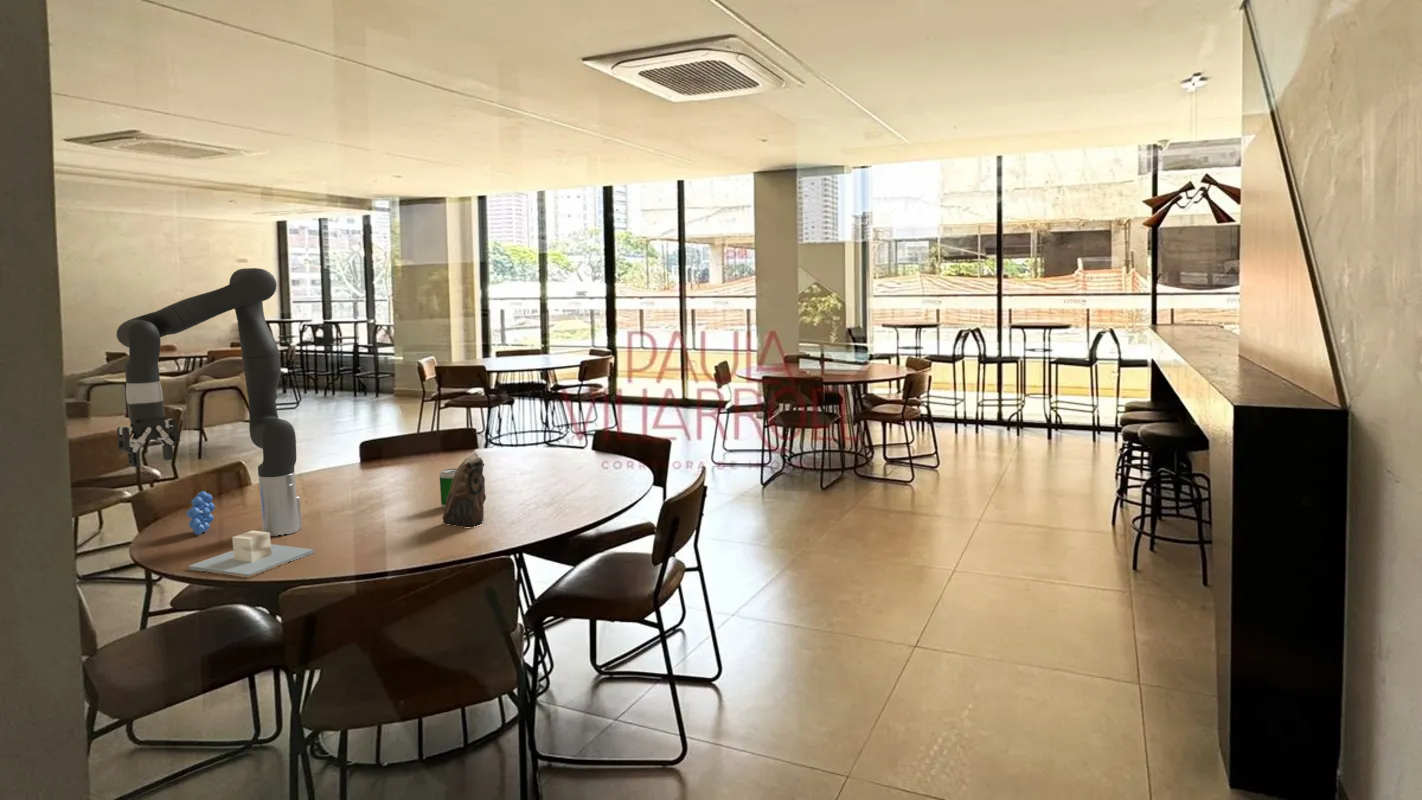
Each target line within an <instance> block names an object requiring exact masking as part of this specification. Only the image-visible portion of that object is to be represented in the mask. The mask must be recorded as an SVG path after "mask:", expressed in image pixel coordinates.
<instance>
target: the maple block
mask: <svg viewBox="0 0 1422 800" xmlns="http://www.w3.org/2000/svg"><path fill="white" fill-rule="evenodd" d="M231 537H232V548H233V550H234V560H240V561H247V562H254V561H257V560H259V559H262V558H265V557H267V556H270V555H272V552H271V544H272V543H271V536H270V533H269V532H263V531H259V530H253V529H252V530H250V531H247V532H244V533H240V534H237V535H234V536H231ZM233 550H232V551H233Z"/></svg>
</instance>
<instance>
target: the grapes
mask: <svg viewBox="0 0 1422 800" xmlns="http://www.w3.org/2000/svg"><path fill="white" fill-rule="evenodd" d="M213 499H214V498H213V496H212V494H211V493H207V491H204V490H201V491H200V492H198V493H197V495H196V496H195V497H194V498H193V499H192V500H191V501H190V503H191V505H192V507H190V508H189V509H188V510H187V511H186V513H185V515H186V517H187V518H188V519H189V520H190V521H189V522H188V526H189V527H190V528H191V529H192V532H193V533H194V534H195V535H197V536H200V535H201V534H203V533H202V532H204V533H206V532H208V530H210V528H211V526H210V524H211V523H213V521H214V520H215V517H214V515H213V514H212V512H214V510H215V509H216V505H215V504H214V503H213V502H212V501H213ZM205 531H206V532H205Z"/></svg>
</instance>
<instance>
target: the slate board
mask: <svg viewBox="0 0 1422 800" xmlns="http://www.w3.org/2000/svg"><path fill="white" fill-rule="evenodd" d="M271 552H272V555H270V556H267V557H265V558H262V559H259V560H257V561H254V562H247V561H240V560H234V550H230V551H227V552H224V553H221V554H219V555H216V556H213V557H210V558H207V559H204V560H202V561H199V562H196V563H193V564H190V565H188V570H190V571H195V570H196V572H202V571H210V572H218V573H226V574H236V575H245V576H250V575H252V574H256V573H260V572H263V571H265V570H267V569H270V568H272V567H275V566H277V565H280V564H283V563H285V562H288V561H292V562H294V561H293V560H295V561H297V560H300V559H302V557H303V558H304V557H308V556H310V555H313V554H314V553H315V552H314V549H313V548H312V549H311V548H305V547H304V548H303V547H299V546H298V547H296V546H290V545H289V546H288V545H282V544H281V545H280V544H275V543H274V544H273V543H271ZM312 553H313V554H312ZM309 554H310V555H309ZM307 555H308V556H307ZM299 558H300V559H299ZM296 559H297V560H296Z"/></svg>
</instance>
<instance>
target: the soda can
mask: <svg viewBox="0 0 1422 800" xmlns="http://www.w3.org/2000/svg"><path fill="white" fill-rule="evenodd" d="M457 469H458V467H457V468H454V467H453V468H446V469H445V468H444V469H443V470H442V471H441V472H440V473H439V488H440V489H439V490H440V505H441V506H442V507H443V508H444V509H445V506H446V499H447V497H448V494H449V491H450V487H451V483H452V480H453V477H454V475H455V472H456V471H457Z"/></svg>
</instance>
